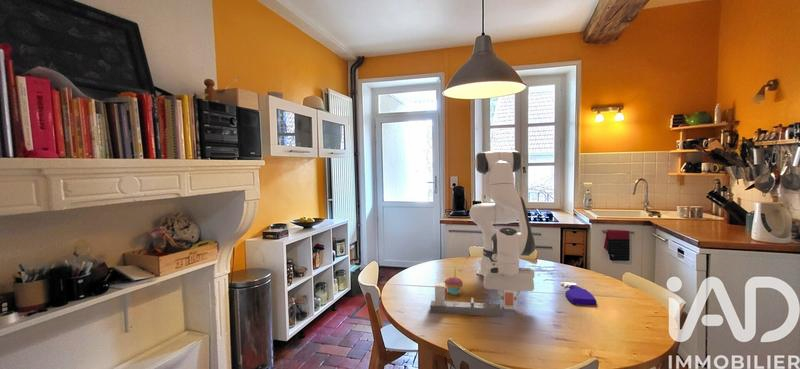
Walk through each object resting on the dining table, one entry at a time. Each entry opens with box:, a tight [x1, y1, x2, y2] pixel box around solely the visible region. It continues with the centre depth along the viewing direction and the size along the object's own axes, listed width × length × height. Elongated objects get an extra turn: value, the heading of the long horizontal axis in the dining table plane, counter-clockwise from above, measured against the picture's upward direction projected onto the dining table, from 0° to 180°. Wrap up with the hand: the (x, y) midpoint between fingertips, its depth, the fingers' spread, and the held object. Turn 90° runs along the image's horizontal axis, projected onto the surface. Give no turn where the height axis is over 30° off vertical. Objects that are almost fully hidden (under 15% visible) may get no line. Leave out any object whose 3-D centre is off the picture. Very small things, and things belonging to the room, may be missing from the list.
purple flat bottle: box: [559, 281, 598, 306], centre depth 154 cm, size 3×11×24 cm
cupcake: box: [444, 266, 464, 296], centre depth 159 cm, size 9×8×12 cm
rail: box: [429, 282, 502, 317], centre depth 138 cm, size 5×28×11 cm, turn 79°
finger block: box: [502, 290, 515, 310], centre depth 142 cm, size 4×5×8 cm
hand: (508, 299), depth 142 cm, fingers closed on finger block, 4 cm apart
